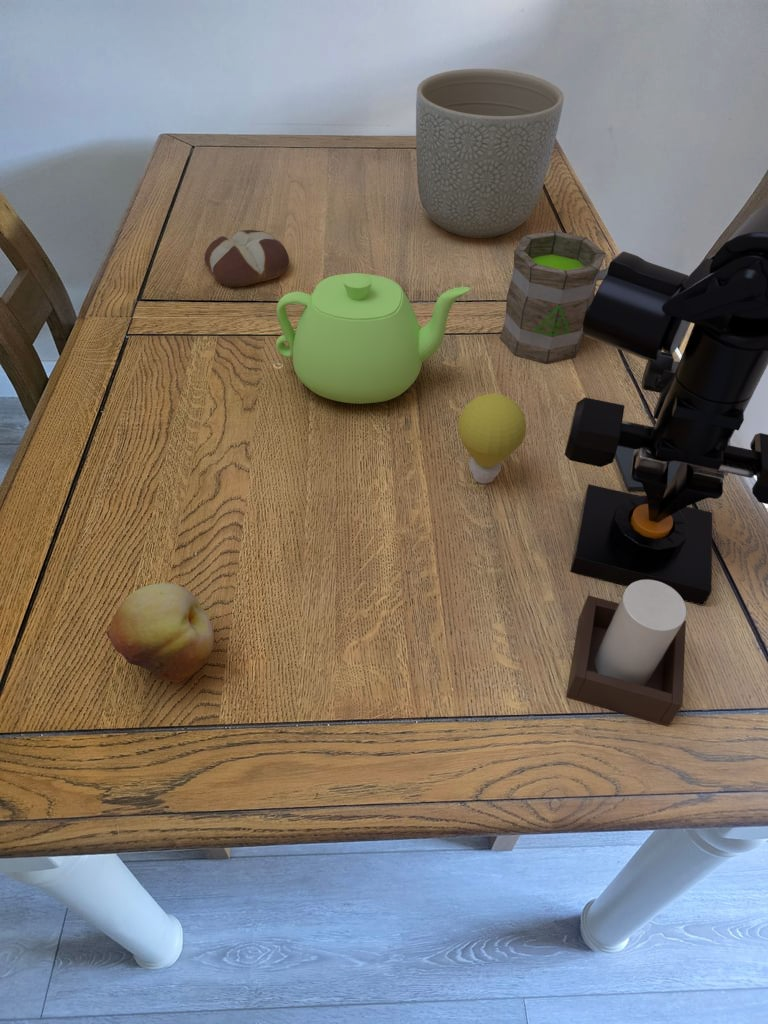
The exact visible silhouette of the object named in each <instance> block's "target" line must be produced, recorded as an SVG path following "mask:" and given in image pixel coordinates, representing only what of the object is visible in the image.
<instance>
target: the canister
mask: <svg viewBox="0 0 768 1024" xmlns="http://www.w3.org/2000/svg"><path fill="white" fill-rule="evenodd" d="M618 603H619V604H618V607H617V609H616V611H615V613H614V615H613V618H612V620H611V622H610V624H609V627H608V629H607V631H606V633H605V635H604V638H603V640H602V642H601V644H600V646H599V649H598V651H597V653H596V656H595V666H596V669H597V671H598V673H599V674H602V675H606V676H610V677H613V678H617V679H620V680H624V681H627V682H631V683H635V684H638V685H642V686H645V685H646V684H647V683H648V682H649V680H650V678H651V677H652V675H653V673H654V671H655V670H656V668H657V666H658V665H659V663H660V661H661V660H662V658H663V656H664V654H665V653H666V651H667V649H668V648H669V646H670V644H671V643H672V641H673V639H674V637H675V636H676V634H677V632H678V631H679V629H680V627H681V626H682V624H683V622H684V620H685V621H686V618H687V612H688V611H687V605H686V603H685V601H684V600H683V599H682V597H681V596H680V595H679V594H678V593H677V592H676V591H675V590H674V589H673V588H671V587H670V586H668V585H666V584H664V583H662V582H659V581H655V580H639V581H636V582H633V583H632V584H630V585H629V586H626V588H625V589H624V591H623V593H622V596H621V597H620V599H619V602H618Z"/></svg>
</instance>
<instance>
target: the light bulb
mask: <svg viewBox="0 0 768 1024" xmlns="http://www.w3.org/2000/svg"><path fill="white" fill-rule="evenodd" d="M526 423H527V421H526V417H525V414H524V412H523V410H522V408H521V407H520V406H519V404H518V403H517V402H515V400H514V399H512V398H511V397H508V396H506V395H504V394H500V393H485V394H482V395H479V396H477V397H474V398H473V399H472V400H471V401H469V402H468V403H467V404H466V405H465V407H464V408H463V409H462V412H461V413H460V416H459V417H458V422H457V433H458V436H459V439H460V440H461V442H462V444H463V447H464V448H465V450H466V452H467V453H468V454H469V456H470V460H469V470H470V472H471V473H472V477H473V480H474V481H476V483H479V484H485V485H486V484H490V483H492V482H493V481H494V480H495V478H496V477H497V476H498V475H499V474H500V472H501V468H502V462H503V461H505V460H507V459H508V457H510V456H511V455H512V454H513V453H514V452H515V451H516V450H517V449H518V448H519V447H520V446H521V445H522V444H523V442H524V439H525V437H526V434H527V424H526Z"/></svg>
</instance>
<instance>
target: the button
mask: <svg viewBox="0 0 768 1024" xmlns="http://www.w3.org/2000/svg"><path fill="white" fill-rule="evenodd" d="M630 524H631V526H632V527H633V529H634V530H635V531H637V532H638V533H640V534H641V535H643V536H645V537H649V538H653V539H661V538H667V536H668V534H669V532H670V530H671V528H672V526H673V519H672V516H671V515H670V516H668V517H667V518H665V519H663V520H662V521H660V522H654V521H650V520H649V512H648V504H643V505H640V506H638V507H637V508H636V509H635V510H634V512H633V514H632V517H631V519H630Z"/></svg>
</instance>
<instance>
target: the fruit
mask: <svg viewBox="0 0 768 1024" xmlns="http://www.w3.org/2000/svg"><path fill="white" fill-rule="evenodd" d="M109 626H110V627H109V628H108V630H107V631H106V635H107V636H108V639H109V641H110V643H111V645H112V646H113V649H115V651H116V653H118V654H121V656H122V657H124V659H125V660H126V662H127V663H128V664H130V665H133V666H137V667H140V668H143V669H146V670H148V671H150V672H151V674H153V675H154V676H155V678H156V679H157V680H159V681H168V682H172V683H178V682H179V683H180V682H182V681H184V680H185V679H188V678H190V677H191V676H193V675H194V674H195V673H197V672H199V670H200V669H202V668H203V666H204V665H205V664H206V662H207V661H208V659H209V658H210V655H211V653H212V651H213V647H214V642H215V641H214V640H215V632H214V626H213V624H212V622H211V620H210V618H209V616H208V614H207V613H206V611H205V610H204V608H203V606H202V605H201V603H200V601H199V600H198V598H197V596H195V595H194V594H193V592H191V591H190V590H189V589H187V588H186V587H184V586H181V585H178V584H175V583H168V582H159V583H158V582H157V583H152V584H149V585H145V586H143V587H140V588H138V589H136V590H135V591H133V592H131V593H130V594H129V595H128V596H127V597H126V598H124V600H122V602H121V603H120V604H119V606H118V607H117V609H116V611H115V614H114V615H113V619H112V622H111V624H110V625H109Z"/></svg>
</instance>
